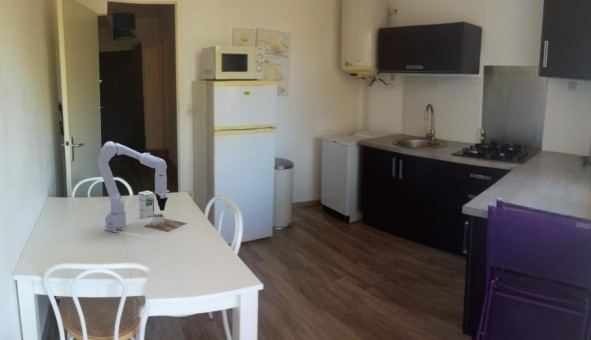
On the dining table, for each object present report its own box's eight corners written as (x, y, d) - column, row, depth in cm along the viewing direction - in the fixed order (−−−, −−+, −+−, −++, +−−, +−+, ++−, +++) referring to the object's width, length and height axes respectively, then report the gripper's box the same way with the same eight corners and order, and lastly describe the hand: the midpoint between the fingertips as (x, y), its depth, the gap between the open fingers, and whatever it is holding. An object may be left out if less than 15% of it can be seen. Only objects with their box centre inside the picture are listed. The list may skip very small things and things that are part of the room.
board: (168, 234, 238) (167, 231, 238) (142, 229, 244) (142, 226, 244) (187, 226, 253) (187, 223, 252) (163, 221, 259) (163, 218, 259)
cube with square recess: (164, 226, 246) (164, 216, 245) (153, 227, 244) (153, 217, 243) (163, 222, 251) (163, 213, 250) (152, 223, 249) (152, 214, 248)
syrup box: (145, 220, 259) (145, 194, 256) (139, 217, 263) (138, 192, 260) (154, 217, 264) (154, 192, 261) (147, 215, 267) (147, 190, 264)
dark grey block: (161, 225, 247) (161, 216, 246) (155, 226, 246) (155, 216, 245) (160, 223, 249) (160, 214, 248) (155, 224, 248) (154, 215, 247)
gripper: (170, 185, 241) (170, 211, 244) (167, 179, 254) (167, 204, 257) (155, 186, 239) (156, 212, 241) (153, 179, 252) (154, 204, 255)
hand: (161, 208), depth 249 cm, fingers open, 7 cm apart
